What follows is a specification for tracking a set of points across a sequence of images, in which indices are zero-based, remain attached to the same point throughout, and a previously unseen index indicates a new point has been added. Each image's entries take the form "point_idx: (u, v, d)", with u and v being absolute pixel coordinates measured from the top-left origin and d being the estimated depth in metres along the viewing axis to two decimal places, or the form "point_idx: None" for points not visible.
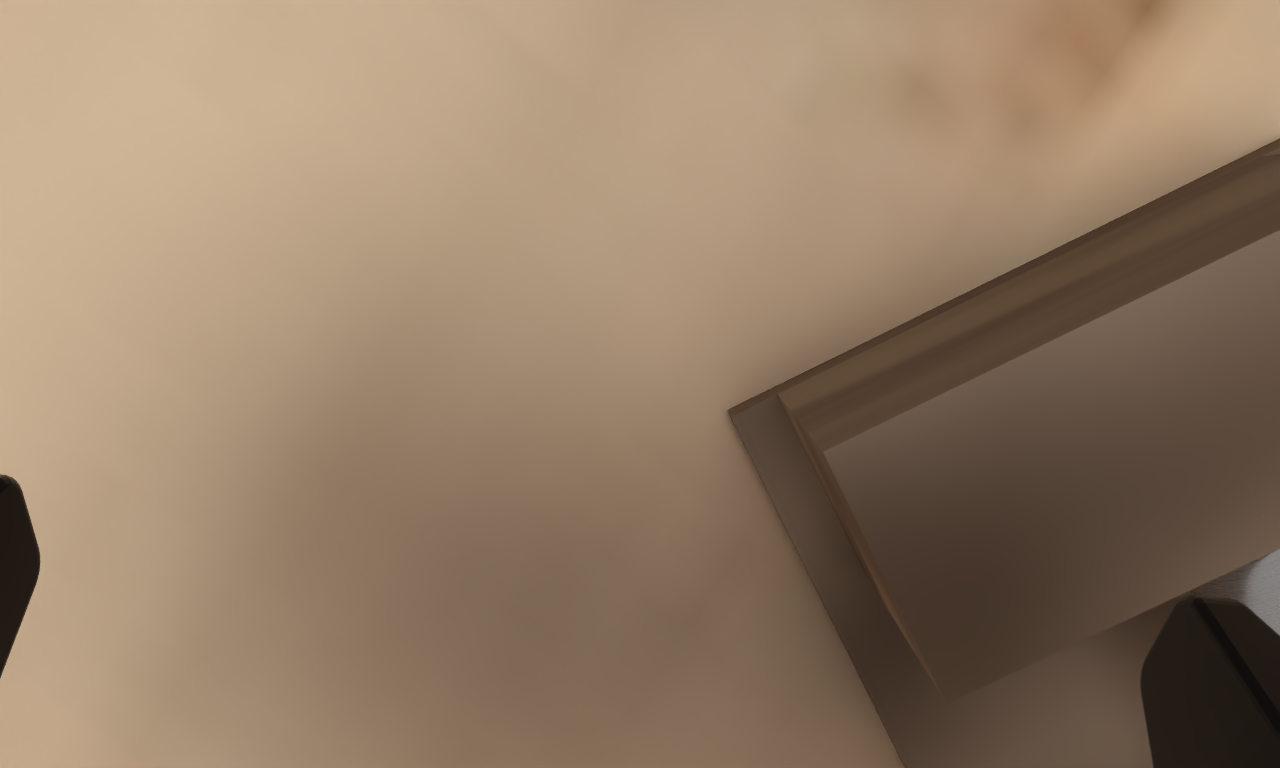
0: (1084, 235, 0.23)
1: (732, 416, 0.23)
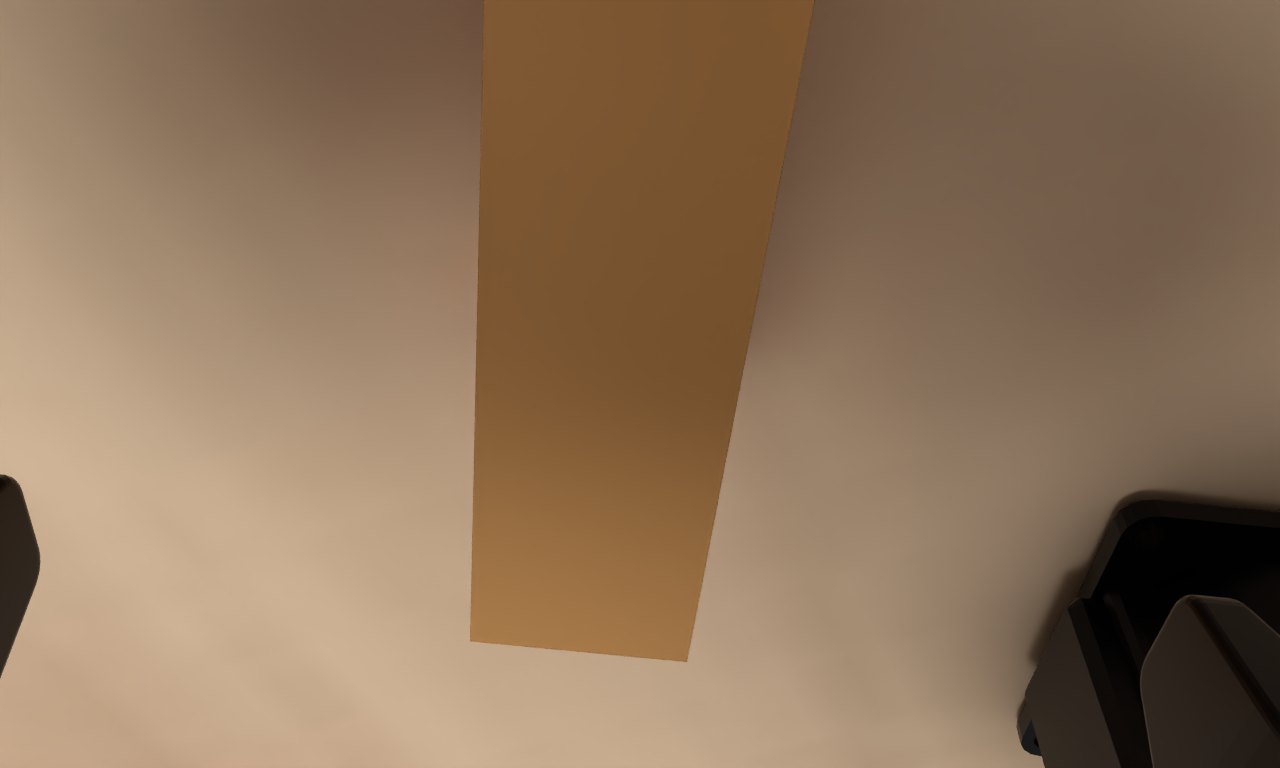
0: None
1: None
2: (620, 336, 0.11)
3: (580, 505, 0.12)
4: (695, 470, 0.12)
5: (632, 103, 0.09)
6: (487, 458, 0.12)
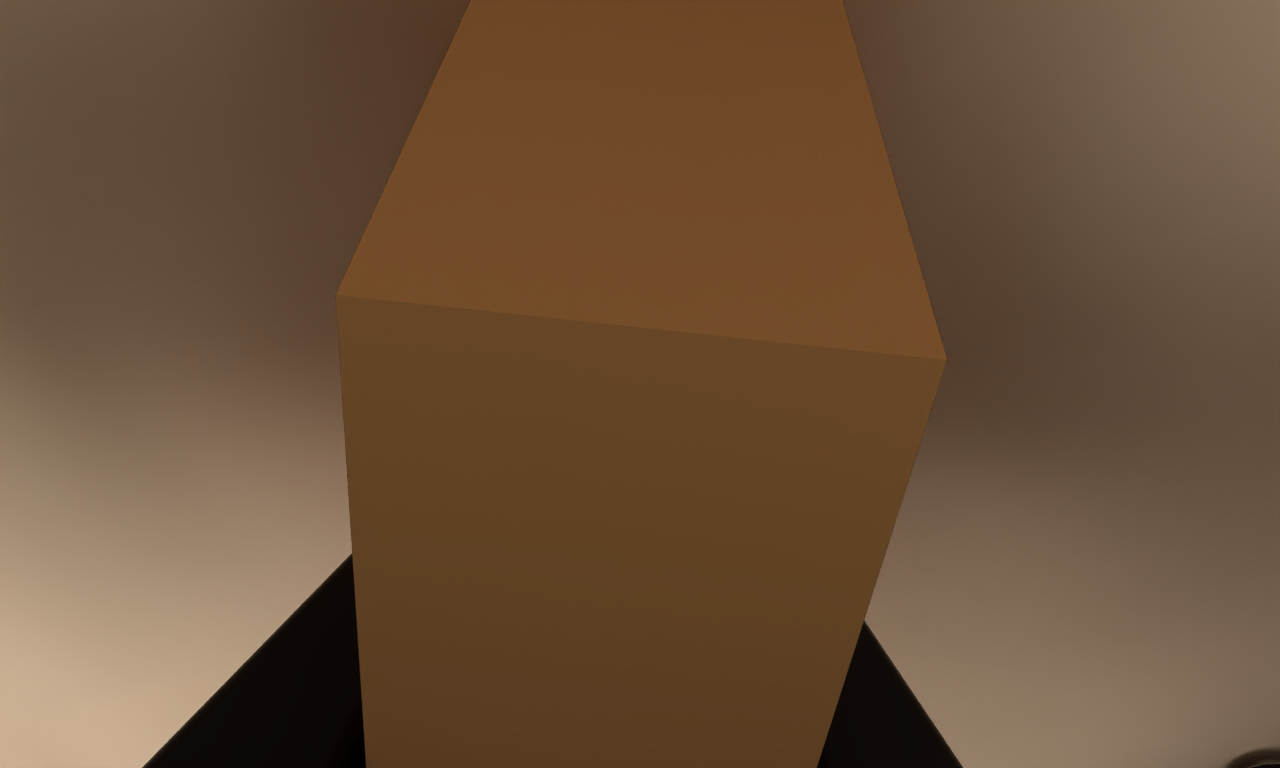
0: None
1: None
2: None
3: None
4: None
5: (608, 549, 0.06)
6: None
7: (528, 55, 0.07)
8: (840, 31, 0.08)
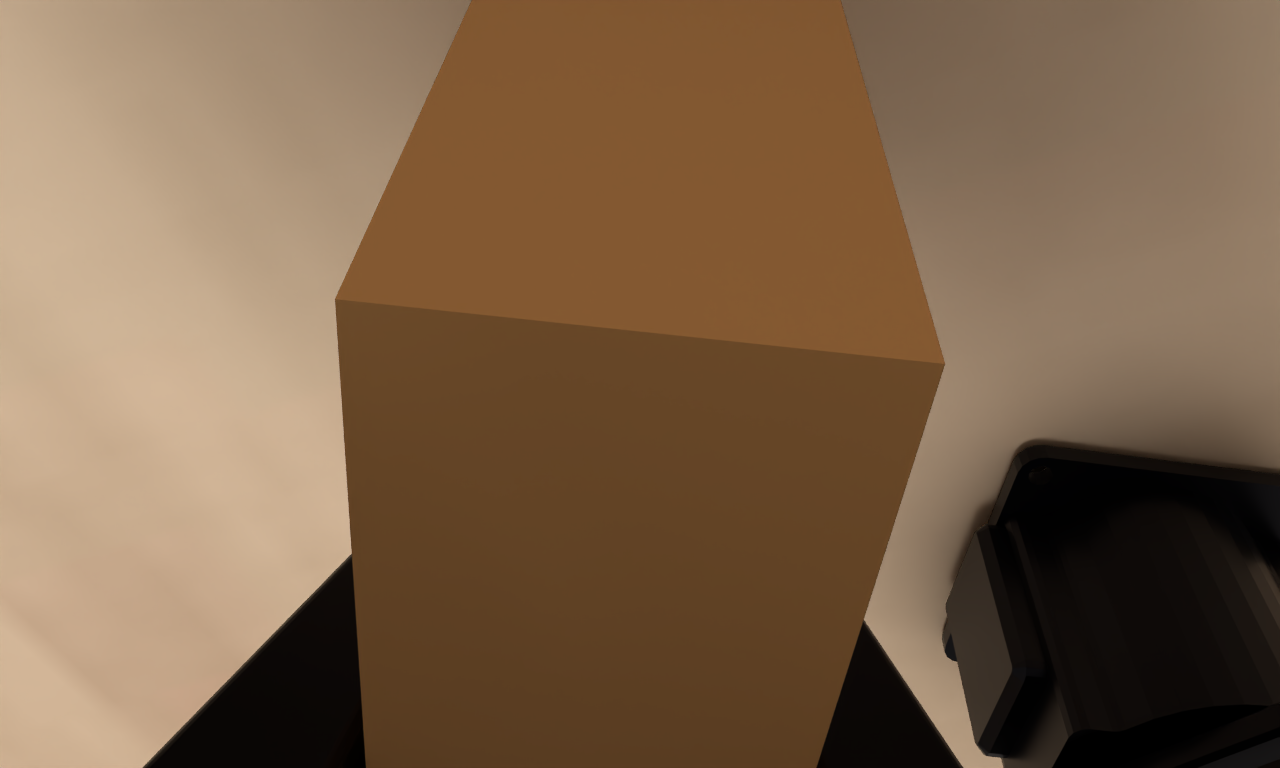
0: None
1: None
2: None
3: None
4: None
5: (606, 551, 0.06)
6: None
7: (528, 58, 0.07)
8: (839, 35, 0.08)
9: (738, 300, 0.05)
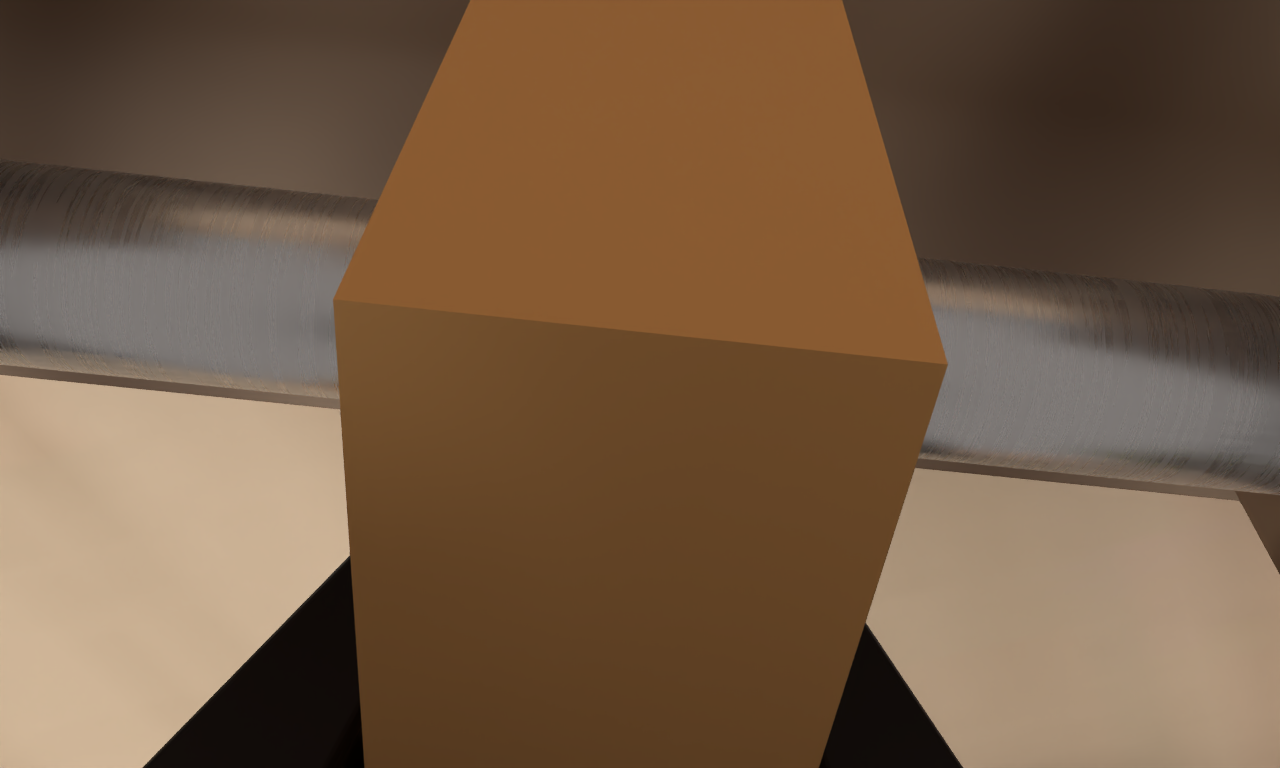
0: None
1: None
2: None
3: None
4: None
5: (607, 552, 0.06)
6: None
7: (525, 57, 0.07)
8: (840, 33, 0.08)
9: (739, 300, 0.05)
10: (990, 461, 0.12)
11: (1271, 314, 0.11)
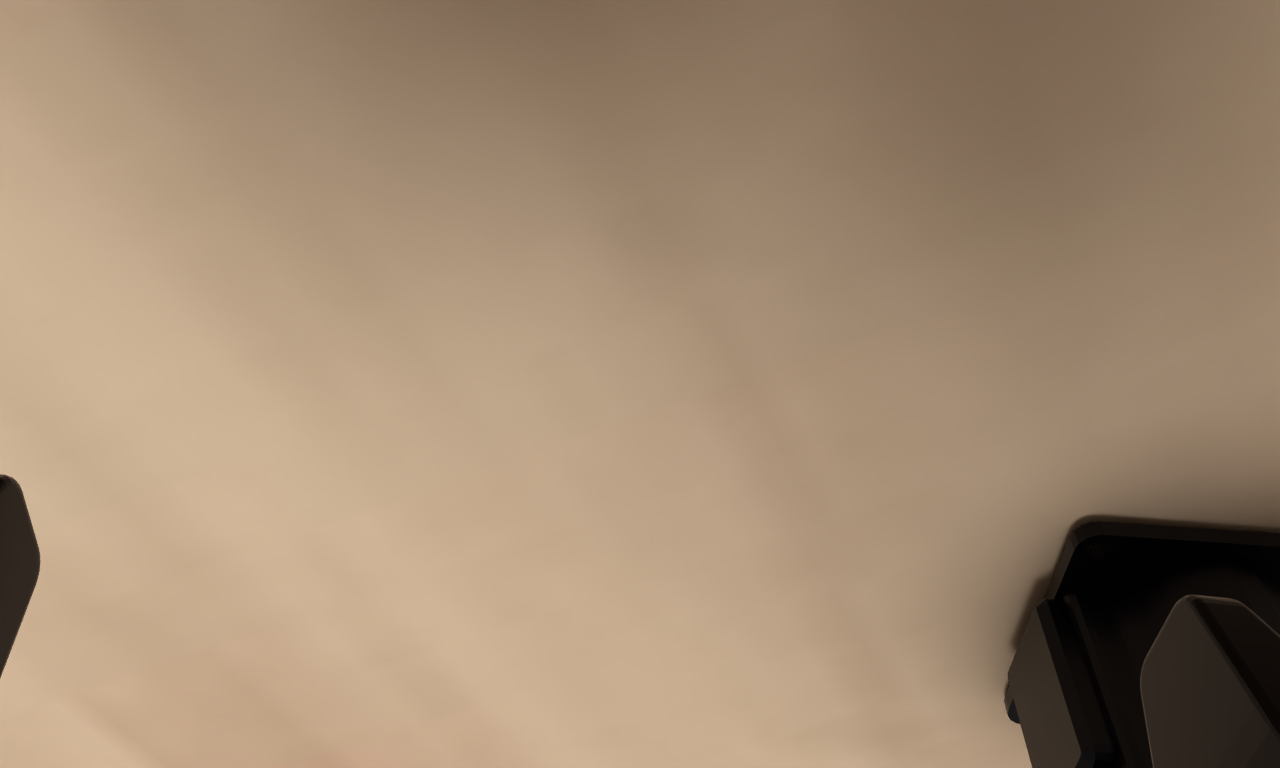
0: None
1: None
2: None
3: None
4: None
5: None
6: None
7: None
8: None
9: None
10: None
11: None
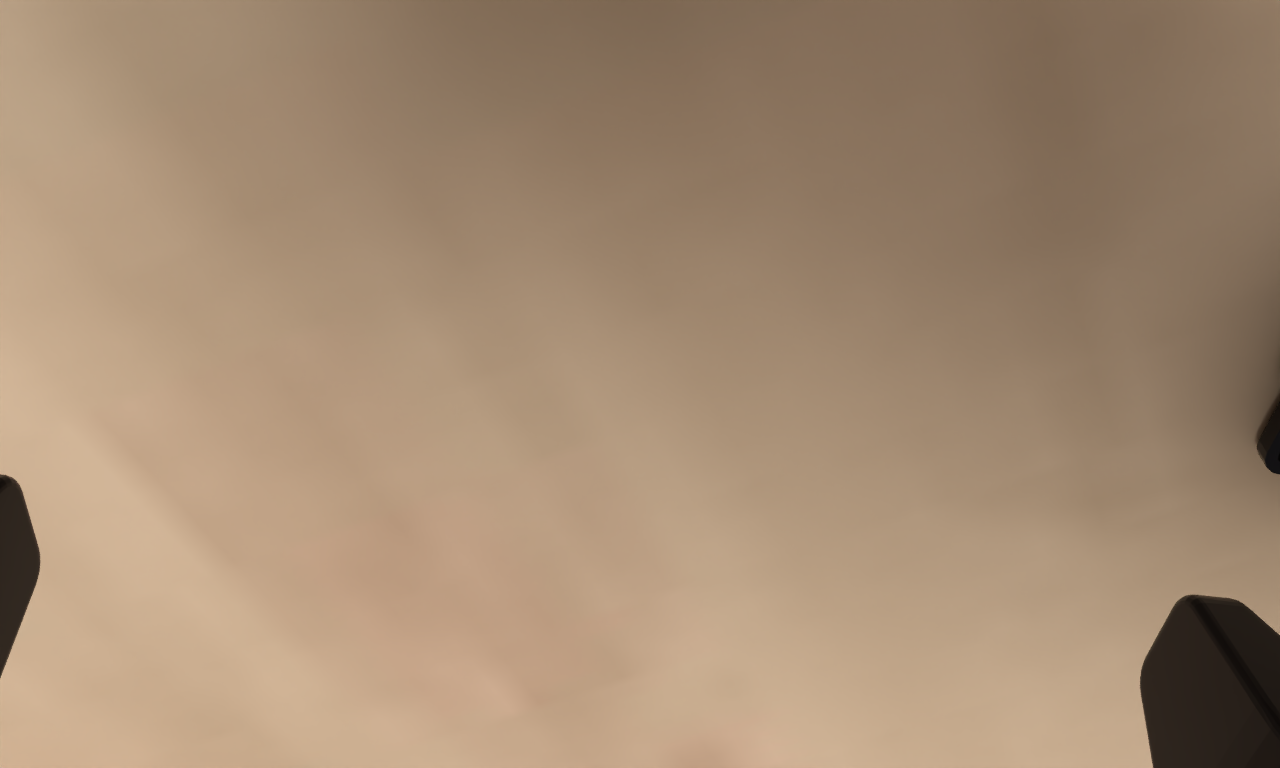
0: None
1: None
2: None
3: None
4: None
5: None
6: None
7: None
8: None
9: None
10: None
11: None
